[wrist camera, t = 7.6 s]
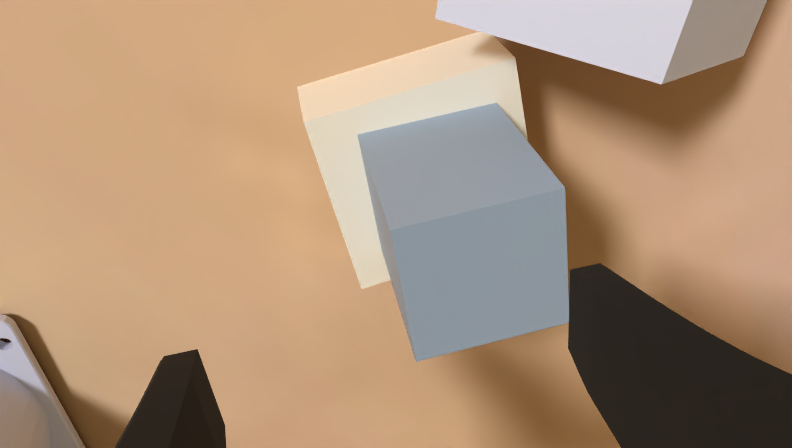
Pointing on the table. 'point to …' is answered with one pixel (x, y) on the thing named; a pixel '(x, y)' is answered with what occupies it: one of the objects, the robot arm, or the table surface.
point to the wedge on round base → (619, 30)
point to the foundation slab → (397, 121)
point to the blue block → (468, 229)
